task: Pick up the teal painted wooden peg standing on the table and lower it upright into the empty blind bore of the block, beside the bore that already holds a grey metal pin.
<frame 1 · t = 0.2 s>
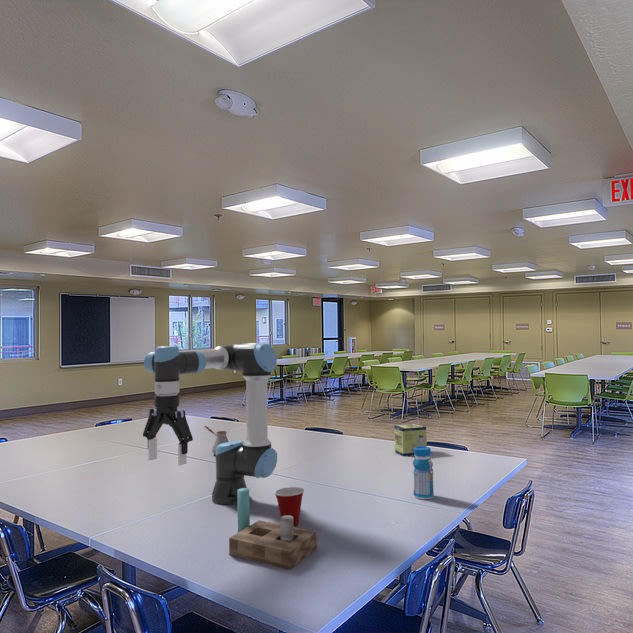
hand: (167, 461, 150), 28 cm above the table, tool pointing down, fingers open, 13 cm apart
protein box: (410, 453, 271), on the table
bore block: (273, 551, 147), on the table
coffee pot: (216, 453, 280), on the table
beverage bottle: (423, 497, 196), on the table
teal peg: (243, 534, 160), on the table
plastic cup: (289, 524, 169), on the table
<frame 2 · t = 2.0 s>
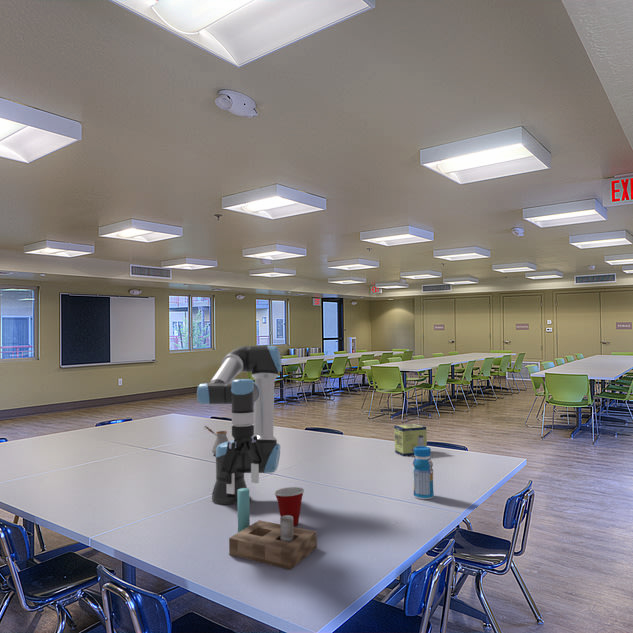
hand: (243, 488, 161), 16 cm above the table, tool pointing down, fingers open, 13 cm apart
nothing on the table moved.
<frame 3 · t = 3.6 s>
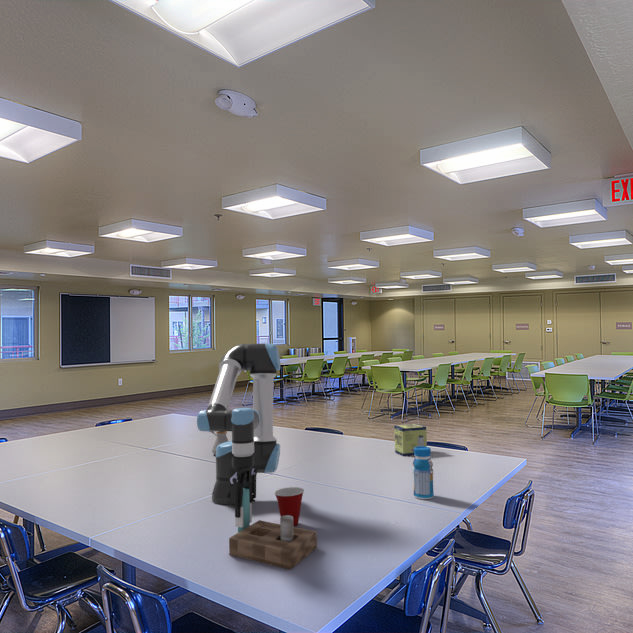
hand: (243, 523, 160), 4 cm above the table, tool pointing down, fingers closed on teal peg, 4 cm apart
teal peg: (243, 534, 160), on the table, touching gripper
everything else where it was.
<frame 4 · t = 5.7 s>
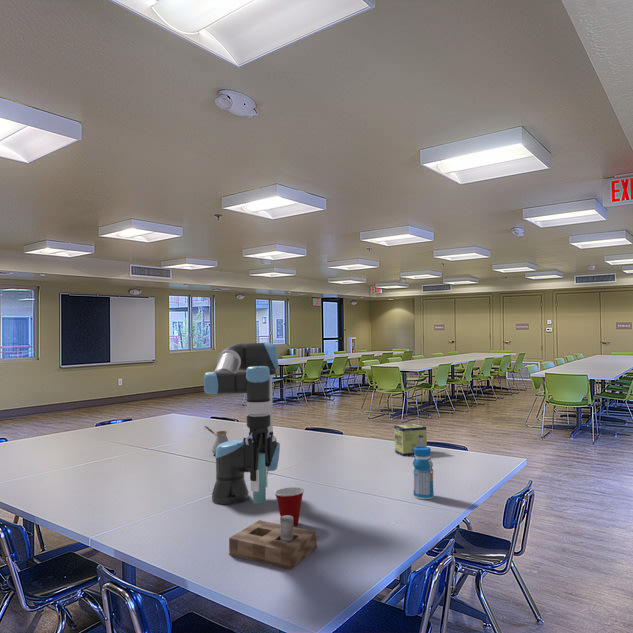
hand: (259, 488, 151), 19 cm above the table, tool pointing down, fingers closed on teal peg, 4 cm apart
teal peg: (259, 501, 150), point 14 cm above the table, touching gripper
everything else where it was.
when the fingers open (7 cm above the table, at t = 7.8 s): teal peg drops 1 cm, resting on bore block.
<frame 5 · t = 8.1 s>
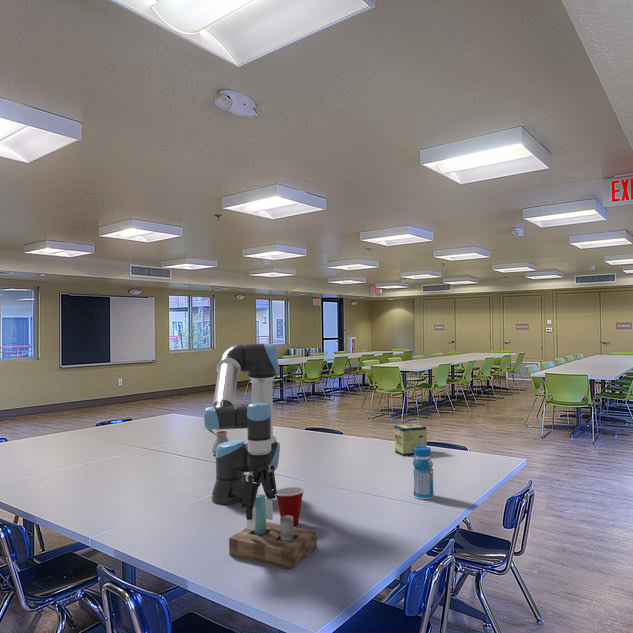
hand: (260, 524, 150), 7 cm above the table, tool pointing down, fingers open, 9 cm apart
teal peg: (260, 544, 150), point 1 cm above the table, touching bore block
everything else where it was.
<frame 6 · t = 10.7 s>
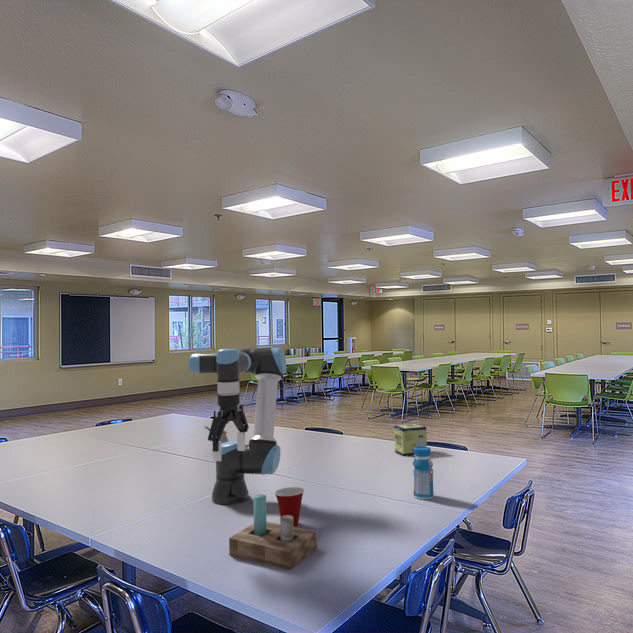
hand: (229, 455, 163), 26 cm above the table, tool pointing down, fingers open, 13 cm apart
nothing on the table moved.
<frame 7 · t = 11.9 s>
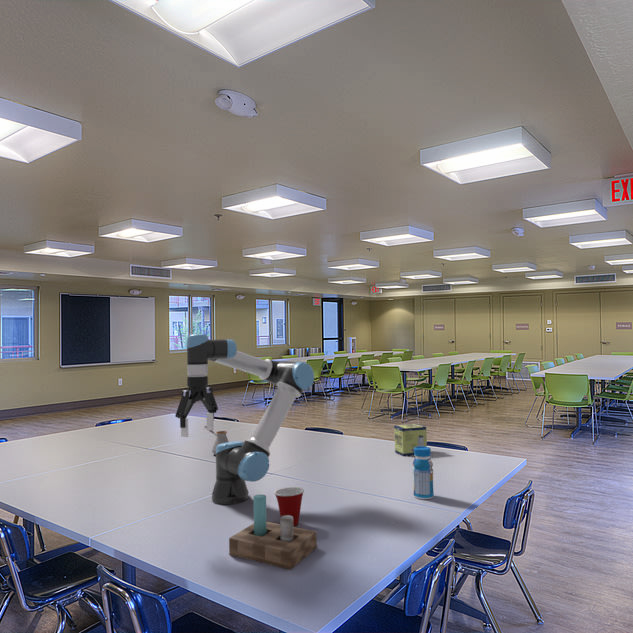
hand: (197, 433, 175), 32 cm above the table, tool pointing down, fingers open, 13 cm apart
nothing on the table moved.
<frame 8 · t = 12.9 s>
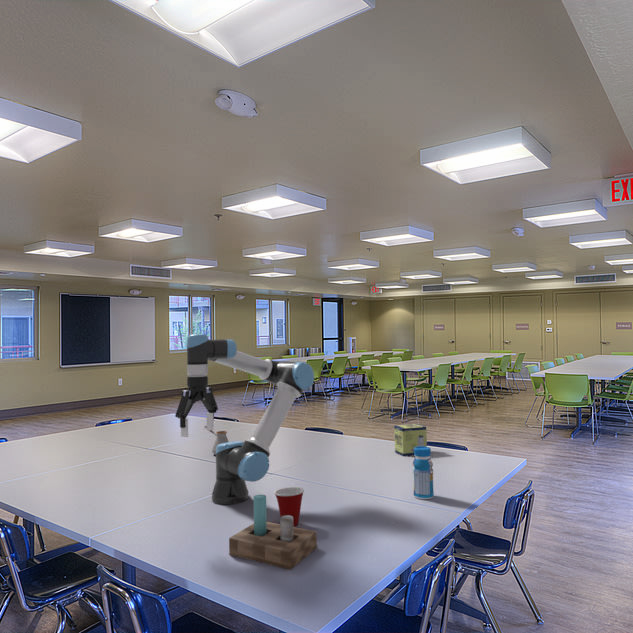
hand: (197, 433, 175), 32 cm above the table, tool pointing down, fingers open, 13 cm apart
nothing on the table moved.
at the end: teal peg 0.1 cm from the target spot on the bore block, point 1.0 cm above the bore block's base; teal peg tilted 0°; the gripper is holding nothing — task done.
